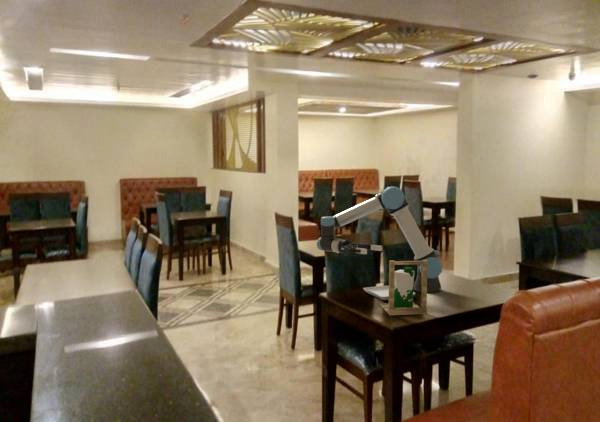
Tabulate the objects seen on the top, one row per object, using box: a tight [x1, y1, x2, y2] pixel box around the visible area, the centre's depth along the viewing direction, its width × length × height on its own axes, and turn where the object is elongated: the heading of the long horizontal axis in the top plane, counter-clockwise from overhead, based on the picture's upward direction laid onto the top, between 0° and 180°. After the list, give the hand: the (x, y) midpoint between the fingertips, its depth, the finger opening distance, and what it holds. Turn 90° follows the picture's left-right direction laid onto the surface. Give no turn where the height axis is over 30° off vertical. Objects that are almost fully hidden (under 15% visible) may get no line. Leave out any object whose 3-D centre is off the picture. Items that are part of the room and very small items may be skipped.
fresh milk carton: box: [394, 266, 415, 308], centre depth 236 cm, size 9×9×20 cm
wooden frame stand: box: [379, 259, 428, 316], centre depth 235 cm, size 18×18×26 cm
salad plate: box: [362, 285, 416, 301], centre depth 261 cm, size 21×21×3 cm
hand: (374, 250), depth 248 cm, fingers open, 13 cm apart
